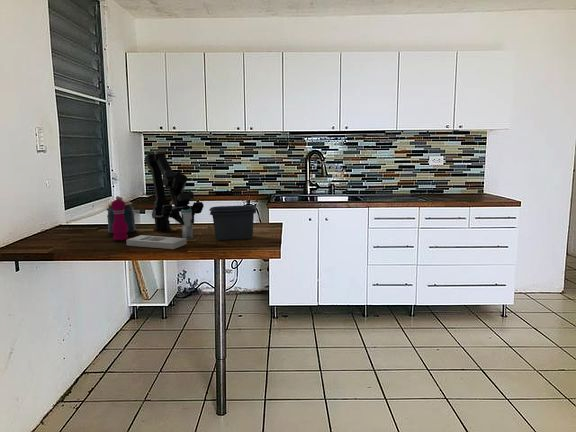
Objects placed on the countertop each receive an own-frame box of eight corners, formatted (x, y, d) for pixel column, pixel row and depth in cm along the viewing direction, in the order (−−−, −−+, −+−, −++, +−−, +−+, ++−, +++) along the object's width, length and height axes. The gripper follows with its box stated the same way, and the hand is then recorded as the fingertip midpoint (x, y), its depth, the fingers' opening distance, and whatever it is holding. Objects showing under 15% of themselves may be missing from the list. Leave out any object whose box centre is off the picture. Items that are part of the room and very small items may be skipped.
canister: (140, 229, 237) (138, 195, 234) (127, 234, 224) (124, 198, 221) (117, 228, 239) (114, 195, 236) (103, 234, 226) (100, 198, 223)
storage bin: (209, 241, 206) (208, 210, 204) (213, 234, 221) (211, 205, 219) (257, 240, 207) (256, 209, 205) (257, 233, 222) (256, 204, 220)
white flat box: (126, 245, 201) (126, 239, 200) (141, 240, 210) (141, 234, 210) (173, 249, 193) (173, 242, 192) (186, 244, 202) (186, 238, 201)
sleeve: (180, 238, 206) (179, 210, 204) (186, 236, 210) (184, 208, 208) (189, 239, 204) (188, 210, 202) (194, 237, 208) (193, 209, 206)
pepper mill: (132, 237, 216) (129, 195, 213) (120, 240, 210) (117, 197, 207) (120, 236, 219) (117, 195, 216) (109, 239, 213) (105, 196, 210)
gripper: (161, 187, 201) (172, 215, 194) (201, 184, 211) (212, 211, 204) (156, 203, 209) (166, 230, 202) (195, 199, 219) (205, 225, 212)
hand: (188, 224), depth 205 cm, fingers closed on sleeve, 5 cm apart
